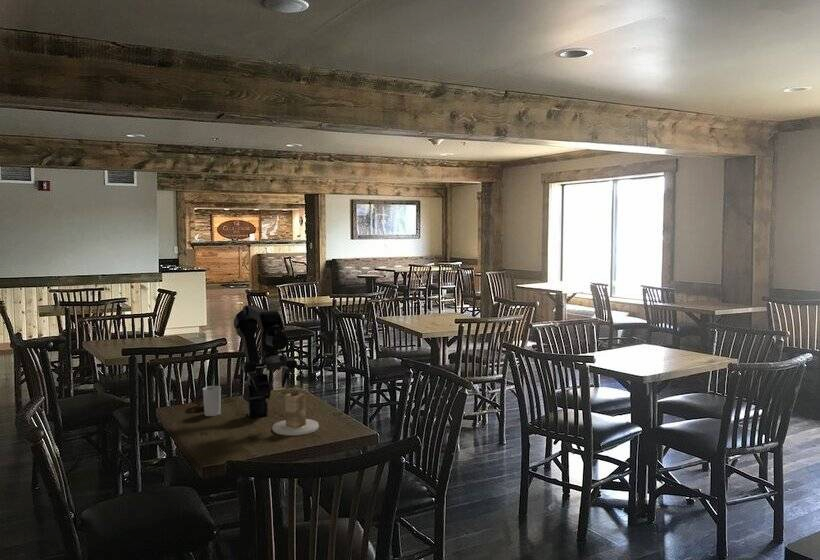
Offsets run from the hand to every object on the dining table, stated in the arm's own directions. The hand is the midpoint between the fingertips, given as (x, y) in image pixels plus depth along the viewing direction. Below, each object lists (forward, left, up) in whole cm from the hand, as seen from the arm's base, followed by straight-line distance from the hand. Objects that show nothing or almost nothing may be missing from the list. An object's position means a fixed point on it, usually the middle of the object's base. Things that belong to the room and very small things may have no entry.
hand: (270, 389), depth 229 cm
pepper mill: (+7, -8, -12) cm, 16 cm away
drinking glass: (-17, +23, -13) cm, 32 cm away
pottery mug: (-16, +34, -13) cm, 40 cm away
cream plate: (+7, -8, -13) cm, 17 cm away
